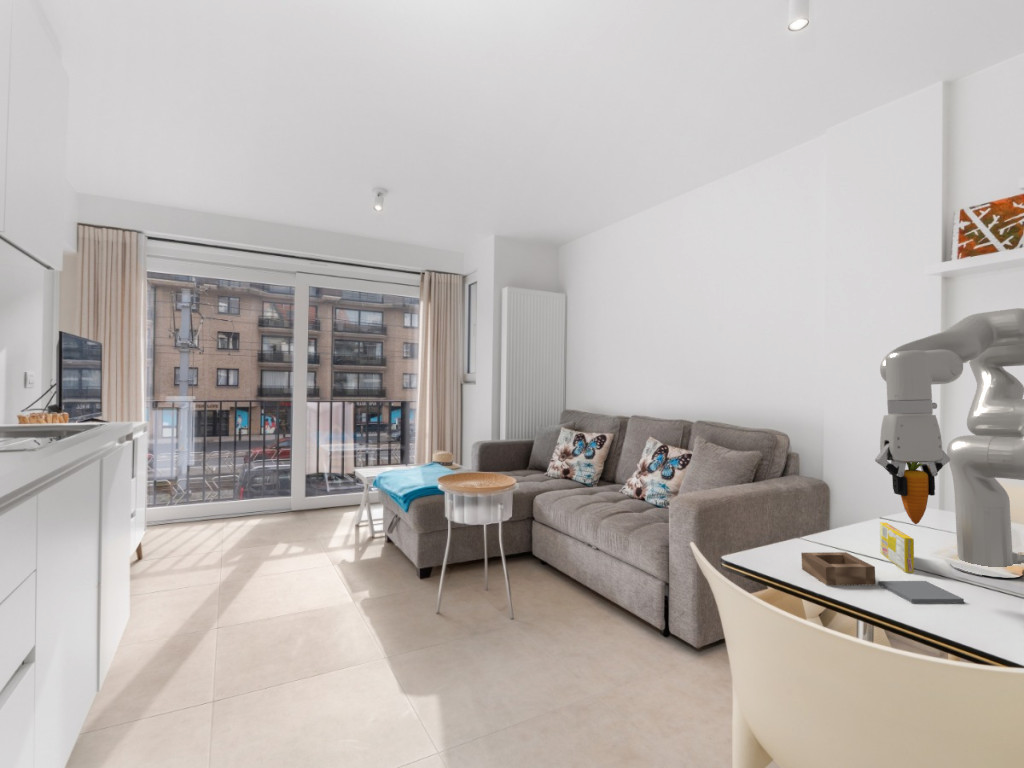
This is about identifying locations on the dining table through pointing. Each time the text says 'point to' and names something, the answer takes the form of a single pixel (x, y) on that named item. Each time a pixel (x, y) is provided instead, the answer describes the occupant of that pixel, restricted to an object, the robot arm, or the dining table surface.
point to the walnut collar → (838, 568)
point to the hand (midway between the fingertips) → (914, 493)
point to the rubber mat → (920, 592)
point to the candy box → (897, 547)
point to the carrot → (915, 492)
